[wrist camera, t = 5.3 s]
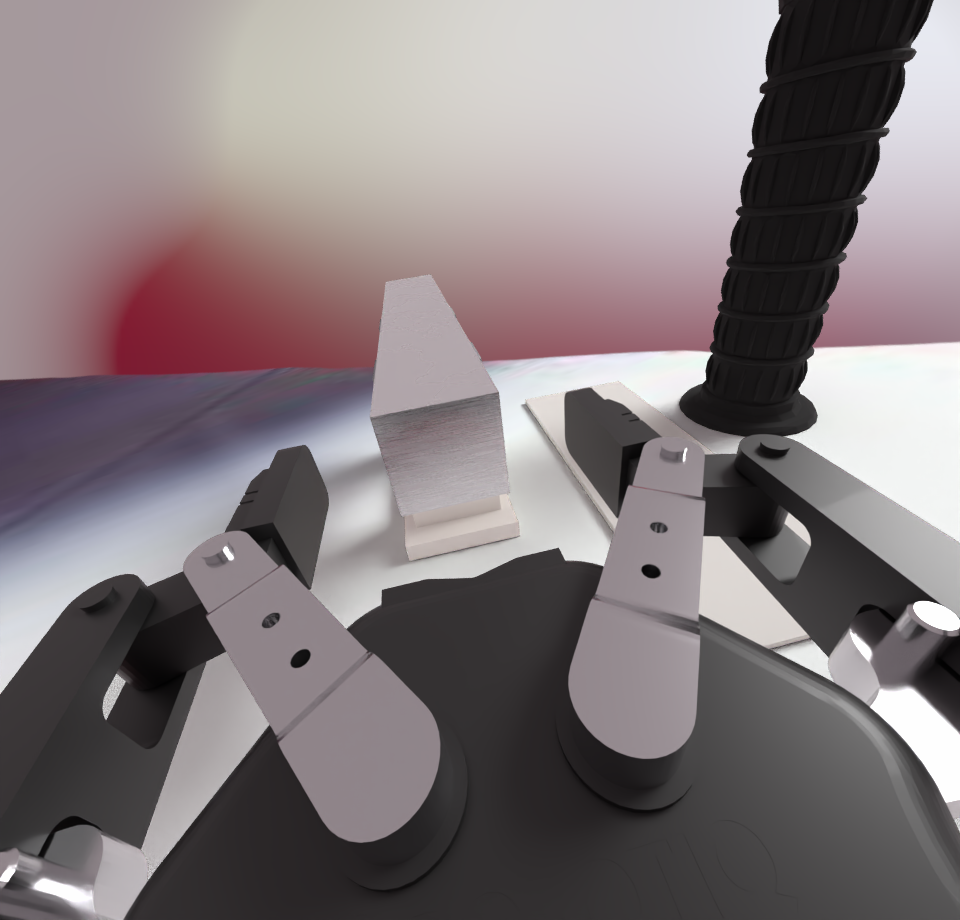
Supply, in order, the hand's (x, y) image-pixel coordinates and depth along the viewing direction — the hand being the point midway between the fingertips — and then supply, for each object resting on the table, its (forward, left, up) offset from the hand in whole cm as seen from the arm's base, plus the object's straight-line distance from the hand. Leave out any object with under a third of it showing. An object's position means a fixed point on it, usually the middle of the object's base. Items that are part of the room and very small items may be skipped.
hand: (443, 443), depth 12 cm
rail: (0, -11, -2) cm, 11 cm away
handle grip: (-26, -16, -12) cm, 33 cm away
